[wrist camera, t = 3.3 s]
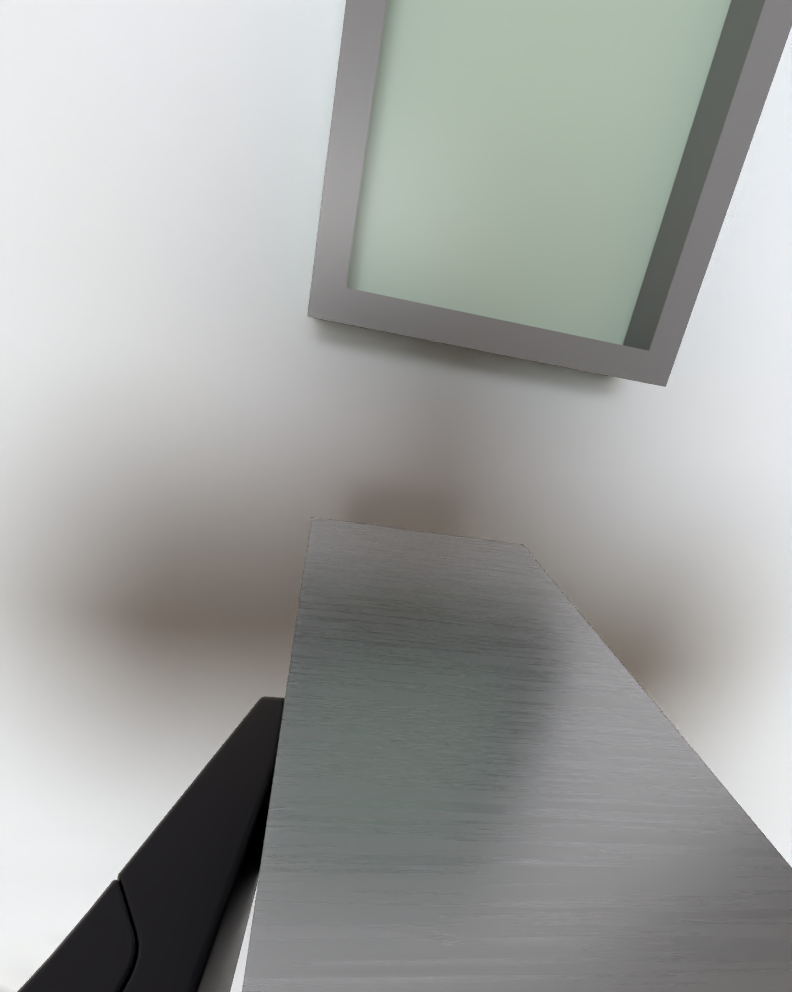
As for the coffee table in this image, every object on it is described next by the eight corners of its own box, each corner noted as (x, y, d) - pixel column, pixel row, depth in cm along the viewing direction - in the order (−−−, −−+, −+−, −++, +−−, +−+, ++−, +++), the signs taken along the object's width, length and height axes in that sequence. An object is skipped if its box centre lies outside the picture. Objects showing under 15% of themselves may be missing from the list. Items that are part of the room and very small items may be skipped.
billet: (454, 783, 11) (616, 1436, 5) (275, 775, 11) (166, 1519, 4) (522, 544, 9) (955, 1062, 3) (311, 516, 9) (224, 1105, 2)
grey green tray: (614, 376, 12) (666, 386, 10) (313, 317, 11) (307, 316, 9) (773, -129, 9) (886, -247, 7) (389, -283, 8) (404, -474, 6)
